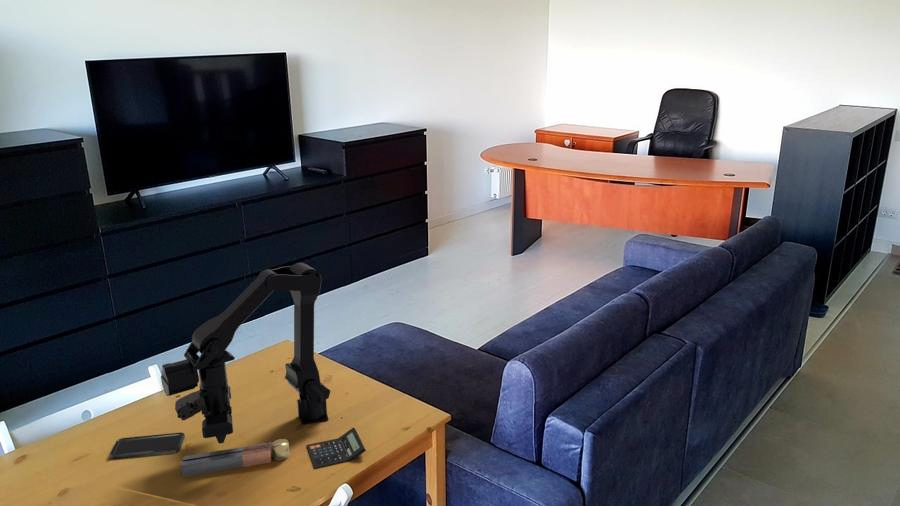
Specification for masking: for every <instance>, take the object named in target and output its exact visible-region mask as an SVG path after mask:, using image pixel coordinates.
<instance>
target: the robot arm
mask: <svg viewBox="0 0 900 506" xmlns="http://www.w3.org/2000/svg"><path fill="white" fill-rule="evenodd" d="M322 281H323V280H322V274H321V273H320V272H319V271H318V270H317V269H315V268H313V267H311V266H309V265H308V264H306V263H303V262H296V263H294V264H293V265H289V266H287V265H286V266H280V267H277V268H273V269H271V268H270V269H264V270H262V271H260V272H259V274H258V276H257V277H256V278H255V279H254V280H253V281H252V282H251V283H250V284H249V285H248V286H247V287H246V288H245V289H244V290H243V291H242V292H241V293H240V294H239V295H238V296H237V298H235V300H234V301H232V302H231V304H229V305H228V306H227V307H226V308H225V310H224V311H222V312H221V313H220V314H219V315H217V316H215V317H212V318H210V319H208V320H207V321H205V322H204V323H202V324H201V325H200V326H199V327H198V328H196V329H195V330H194V332H192V335H191V341H190V344H189V345H188V347H187V348H186V351H185V352H184V354H183V357H184V358H185V359H183V360H179V361H176V362H170V363H169V362H168V363H164V364H162V366H161V367H162V369H161V372H160V373H161V375H160V382H161V385H162V389H163V392H164V393H165V395H166V396H167V397H171V396H174V395H177V394H181V393H184V392H187V391H191V390H194V389H196V388H197V387H198V386H199V390H196V391H192V392H191V393H188V394H187V395H185V396H182V397H180V398H178V399H177V400H175V406H174V410H175V412H176V414H177V418H178V419H180V420H181V421H186V420H188V419H190V418H193V417H194V416H195V415H197V414H199V413H200V412H201V415H203V417H204V419H203V421H201V433H202V434H201V435H202V437H203V438H204V439H210V438H214V437H215V438H216V440H217V444H223V443H225V440H226V437H227V435H231V434H233V433H234V423H233V415H232V413H233V412H232V409H233V407H232V406H231V400H232V393H231V392H232V391H231V386H230V385H229V381H228V374H227V373H228V372H227V367H226V363H227V362H232V361H234V360H236V359H235V358H236V357H235V356H234V355H233V354H232V353H231V352H230V351H227V349H228V347H229V345H230V344H231V343H232V341H233V340H234V337H235V334H236V331H237V330H238V329H239V327H241V325H242V324H243V323H244V322H246V320H247V319H248V318H249V317H250V316H251V315H252V314H253V313H254V312H255V311H256V310H257V309H258V308H259V307H260V306H261V305H262V304H263V303H264V301H266V300H267V299H268V297H269V296H271V294H272V293H274V291H289V292H290V294H291V297H292V299H293V300H292V301H293V339H294V340H293V358H292V361H291V362H289V363H285V365H284V367H285V375H284V379H285V380H287V382H288V385H290V386H291V387H292V389H294V390H295V391H296V392H297V393H298V399H297V400H296V404H297V406H296V407H297V416H298V419H299V420H300V422H301V425H309V424H316V423H323V422H328V421H329V417H328V410H327V409H328V408H327V406H328V405H327V400H328V399H329V398H330V395H331V390H330V389H329V387H327V386H325V385H324V384H323V383H322V382H321V377H320V371H319V368H318V366H317V363H316V360H315V303H316V301H317V300H318V297H319V295H320V293H321V287H322ZM198 353H200V355H198ZM198 383H199V385H198Z"/></svg>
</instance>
